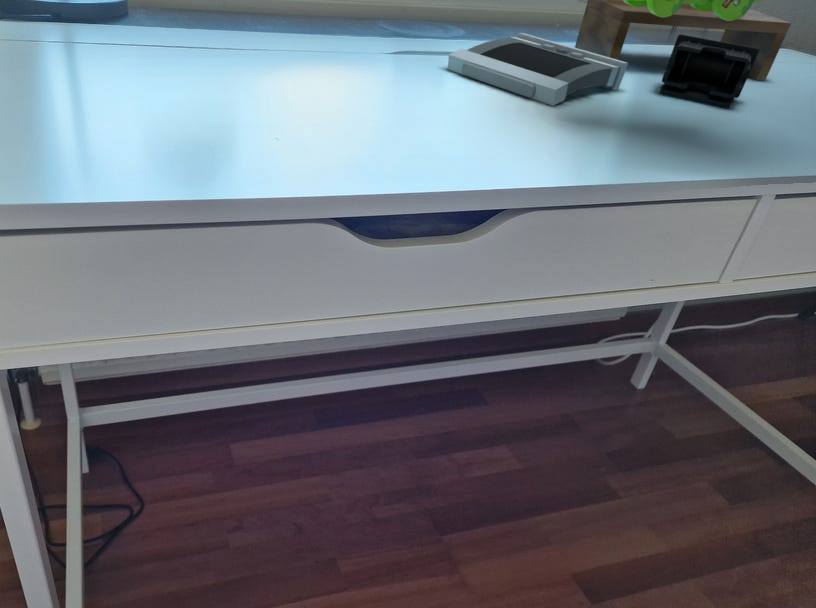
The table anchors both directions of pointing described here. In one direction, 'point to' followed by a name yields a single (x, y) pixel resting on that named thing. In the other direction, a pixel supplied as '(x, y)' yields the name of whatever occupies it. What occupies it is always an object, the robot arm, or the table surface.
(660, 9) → the toy crocodile
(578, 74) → the alarm clock
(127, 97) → the table surface
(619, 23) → the shoe shelf
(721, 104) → the end cap
